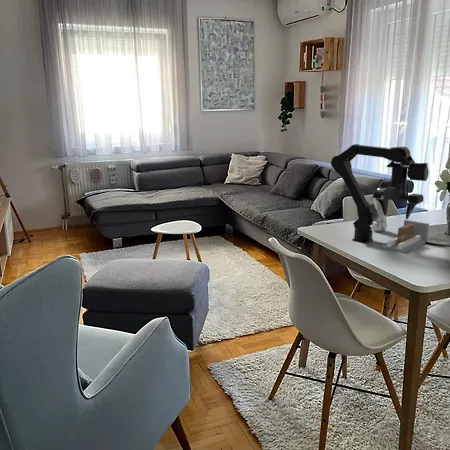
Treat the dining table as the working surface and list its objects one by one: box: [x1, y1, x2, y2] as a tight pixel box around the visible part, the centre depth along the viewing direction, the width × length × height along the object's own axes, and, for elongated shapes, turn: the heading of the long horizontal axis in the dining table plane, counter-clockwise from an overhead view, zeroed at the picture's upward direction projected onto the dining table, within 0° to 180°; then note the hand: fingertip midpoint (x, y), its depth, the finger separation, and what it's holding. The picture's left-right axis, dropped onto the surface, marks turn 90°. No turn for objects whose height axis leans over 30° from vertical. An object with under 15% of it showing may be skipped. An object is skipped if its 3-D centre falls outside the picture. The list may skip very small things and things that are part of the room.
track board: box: [381, 219, 430, 254], centre depth 182 cm, size 10×20×8 cm, turn 133°
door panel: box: [396, 224, 414, 245], centre depth 181 cm, size 2×10×7 cm, turn 133°
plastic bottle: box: [371, 187, 390, 233], centre depth 201 cm, size 6×7×20 cm
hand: (395, 217), depth 179 cm, fingers open, 9 cm apart
